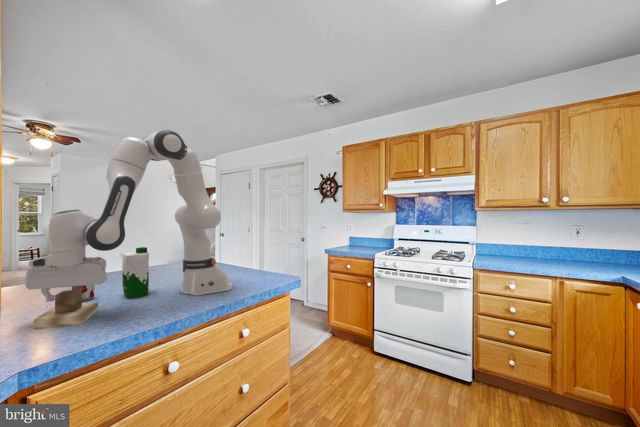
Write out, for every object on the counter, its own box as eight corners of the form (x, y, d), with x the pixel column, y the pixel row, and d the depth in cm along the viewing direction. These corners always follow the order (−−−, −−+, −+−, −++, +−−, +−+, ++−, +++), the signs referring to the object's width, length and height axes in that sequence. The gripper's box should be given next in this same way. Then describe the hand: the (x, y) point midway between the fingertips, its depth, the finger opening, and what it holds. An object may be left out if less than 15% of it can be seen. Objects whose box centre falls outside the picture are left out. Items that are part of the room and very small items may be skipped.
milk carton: (151, 295, 115) (150, 248, 114) (125, 300, 108) (125, 250, 108) (145, 290, 121) (145, 246, 120) (120, 295, 114) (120, 248, 114)
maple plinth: (98, 310, 98) (98, 302, 98) (82, 323, 86) (82, 314, 86) (55, 314, 93) (55, 305, 93) (33, 329, 82) (33, 319, 82)
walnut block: (81, 306, 93) (81, 289, 93) (74, 311, 88) (74, 293, 88) (63, 308, 91) (63, 290, 91) (55, 313, 87) (54, 295, 87)
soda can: (81, 303, 104) (80, 272, 104) (67, 301, 105) (66, 271, 105) (98, 297, 111) (98, 268, 110) (85, 296, 112) (85, 267, 112)
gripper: (109, 255, 96) (109, 293, 96) (34, 258, 89) (35, 299, 89) (102, 258, 90) (102, 299, 90) (21, 262, 83) (22, 306, 83)
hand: (68, 299), depth 90 cm, fingers open, 8 cm apart
